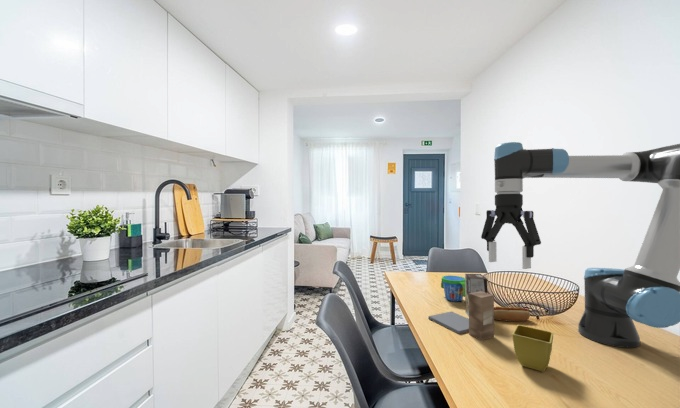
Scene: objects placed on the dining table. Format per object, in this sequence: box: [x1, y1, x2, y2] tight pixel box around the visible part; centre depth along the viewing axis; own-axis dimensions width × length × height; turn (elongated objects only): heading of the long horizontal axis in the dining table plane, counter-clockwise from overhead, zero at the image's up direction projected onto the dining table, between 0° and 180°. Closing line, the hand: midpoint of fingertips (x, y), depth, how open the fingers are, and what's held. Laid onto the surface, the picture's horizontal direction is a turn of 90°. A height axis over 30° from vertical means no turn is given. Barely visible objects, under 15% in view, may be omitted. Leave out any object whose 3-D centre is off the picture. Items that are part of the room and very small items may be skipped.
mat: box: [428, 310, 469, 335], centre depth 109 cm, size 15×12×1 cm
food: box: [494, 306, 531, 322], centre depth 113 cm, size 14×6×5 cm, turn 83°
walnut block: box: [468, 291, 495, 341], centre depth 99 cm, size 5×6×14 cm
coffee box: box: [464, 273, 488, 317], centre depth 116 cm, size 9×6×16 cm
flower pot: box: [512, 324, 554, 372], centre depth 81 cm, size 9×9×9 cm
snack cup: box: [440, 275, 465, 302], centre depth 137 cm, size 16×10×10 cm
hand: (508, 264), depth 90 cm, fingers open, 10 cm apart
